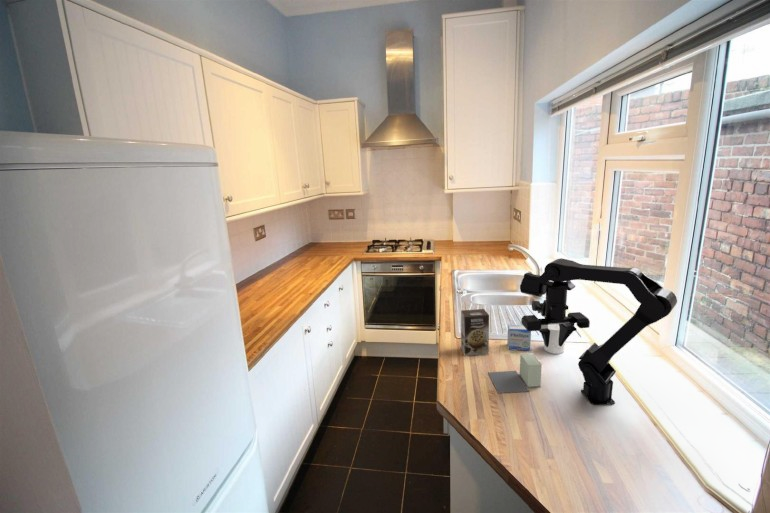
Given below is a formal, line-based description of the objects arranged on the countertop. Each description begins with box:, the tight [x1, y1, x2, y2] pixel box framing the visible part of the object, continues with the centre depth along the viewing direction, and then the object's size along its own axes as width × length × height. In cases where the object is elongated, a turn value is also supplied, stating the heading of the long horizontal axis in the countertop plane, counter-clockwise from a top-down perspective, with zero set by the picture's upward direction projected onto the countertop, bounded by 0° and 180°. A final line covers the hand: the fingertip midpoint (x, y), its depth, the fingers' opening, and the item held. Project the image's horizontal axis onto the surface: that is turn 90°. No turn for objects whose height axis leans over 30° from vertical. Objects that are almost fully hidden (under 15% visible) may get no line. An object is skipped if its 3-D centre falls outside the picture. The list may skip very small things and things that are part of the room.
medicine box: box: [507, 324, 532, 351], centre depth 133 cm, size 8×4×9 cm, turn 76°
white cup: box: [543, 324, 566, 355], centre depth 129 cm, size 8×8×10 cm
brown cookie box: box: [460, 308, 490, 357], centre depth 131 cm, size 9×6×16 cm
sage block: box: [519, 352, 543, 389], centre depth 113 cm, size 4×7×8 cm, turn 0°
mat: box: [488, 370, 530, 394], centre depth 114 cm, size 9×11×1 cm
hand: (553, 346), depth 111 cm, fingers open, 4 cm apart
